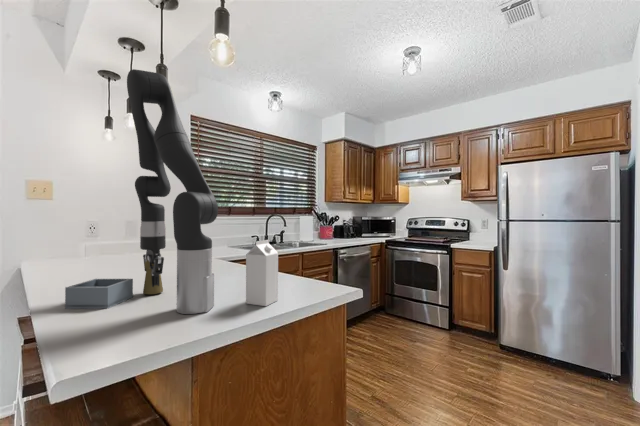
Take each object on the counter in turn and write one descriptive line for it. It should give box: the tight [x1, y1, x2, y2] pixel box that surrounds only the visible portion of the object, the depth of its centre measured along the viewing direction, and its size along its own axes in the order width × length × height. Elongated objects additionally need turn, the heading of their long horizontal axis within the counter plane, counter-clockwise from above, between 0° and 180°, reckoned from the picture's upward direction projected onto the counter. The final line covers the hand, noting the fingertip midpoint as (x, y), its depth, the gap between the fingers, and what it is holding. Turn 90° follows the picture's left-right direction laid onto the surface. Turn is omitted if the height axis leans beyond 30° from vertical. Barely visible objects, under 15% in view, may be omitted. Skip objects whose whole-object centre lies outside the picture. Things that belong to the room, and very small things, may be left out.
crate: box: [64, 278, 134, 310], centre depth 94 cm, size 12×12×6 cm
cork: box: [142, 260, 164, 295], centre depth 104 cm, size 6×6×11 cm
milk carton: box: [245, 239, 279, 307], centre depth 94 cm, size 7×7×19 cm
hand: (153, 285), depth 104 cm, fingers closed on cork, 4 cm apart
